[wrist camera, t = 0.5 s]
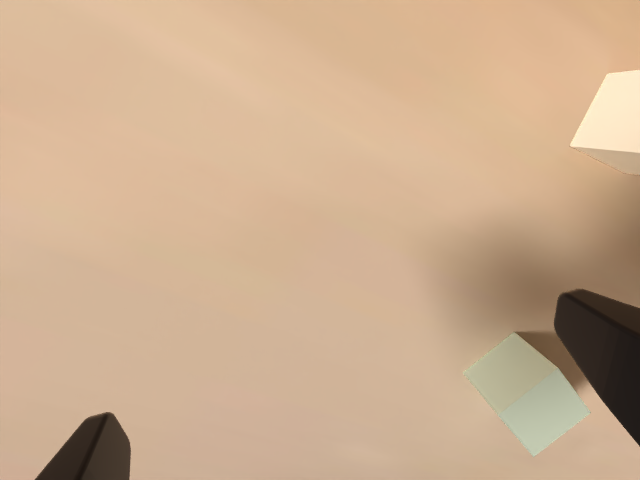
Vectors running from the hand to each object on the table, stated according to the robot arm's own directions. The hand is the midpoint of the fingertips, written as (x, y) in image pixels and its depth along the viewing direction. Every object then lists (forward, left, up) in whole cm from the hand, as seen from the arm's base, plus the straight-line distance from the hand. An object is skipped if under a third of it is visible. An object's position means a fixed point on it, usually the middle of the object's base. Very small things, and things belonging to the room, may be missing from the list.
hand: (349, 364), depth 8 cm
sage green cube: (-15, -8, -14) cm, 22 cm away
